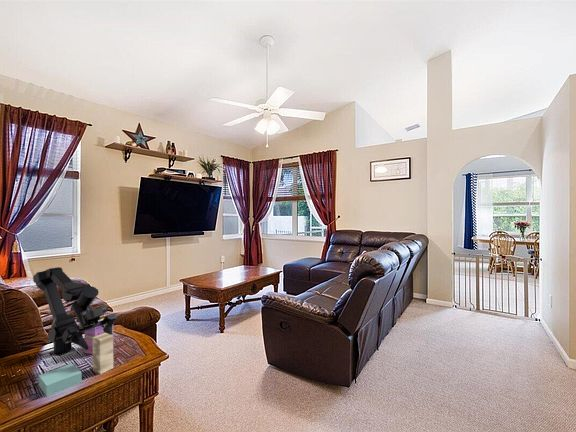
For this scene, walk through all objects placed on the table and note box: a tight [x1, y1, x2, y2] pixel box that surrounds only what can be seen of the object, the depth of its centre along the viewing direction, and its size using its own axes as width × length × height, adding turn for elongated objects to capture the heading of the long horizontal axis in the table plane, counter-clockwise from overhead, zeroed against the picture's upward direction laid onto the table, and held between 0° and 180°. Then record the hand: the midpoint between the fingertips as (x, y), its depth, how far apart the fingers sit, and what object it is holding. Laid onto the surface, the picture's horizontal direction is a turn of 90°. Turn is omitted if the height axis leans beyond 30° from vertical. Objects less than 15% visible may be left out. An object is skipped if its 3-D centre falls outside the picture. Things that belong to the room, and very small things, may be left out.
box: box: [83, 317, 114, 355], centre depth 132 cm, size 10×6×12 cm, turn 168°
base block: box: [38, 363, 83, 397], centre depth 105 cm, size 10×10×4 cm
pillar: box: [92, 333, 114, 375], centre depth 114 cm, size 5×5×13 cm
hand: (100, 344), depth 115 cm, fingers open, 9 cm apart
